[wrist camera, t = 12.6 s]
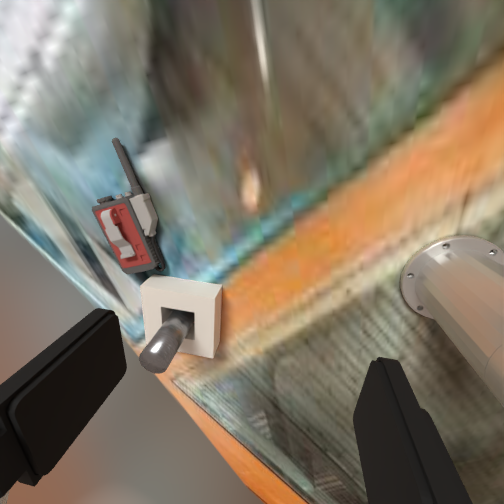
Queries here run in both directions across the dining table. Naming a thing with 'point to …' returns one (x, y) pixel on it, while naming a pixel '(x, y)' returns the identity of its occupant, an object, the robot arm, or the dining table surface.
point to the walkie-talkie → (130, 224)
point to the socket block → (187, 299)
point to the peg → (166, 341)
